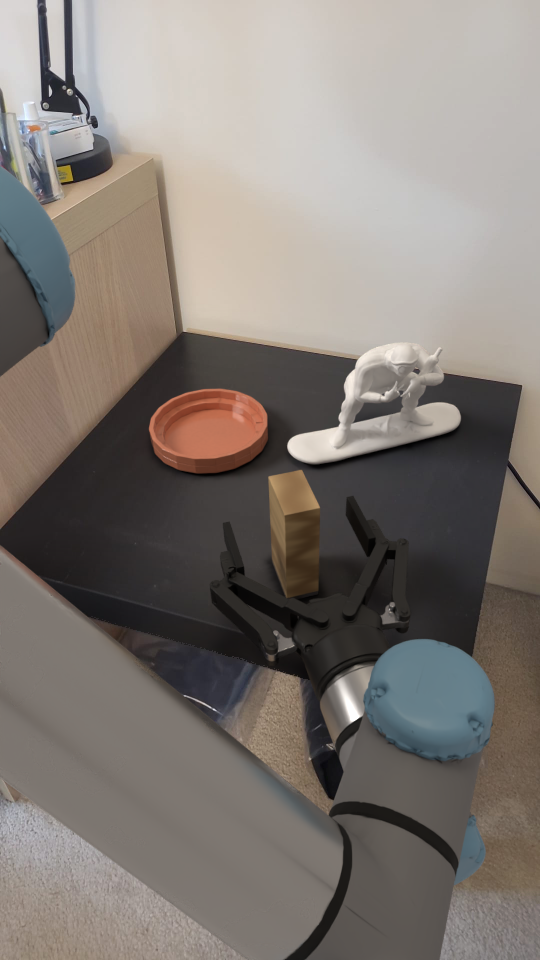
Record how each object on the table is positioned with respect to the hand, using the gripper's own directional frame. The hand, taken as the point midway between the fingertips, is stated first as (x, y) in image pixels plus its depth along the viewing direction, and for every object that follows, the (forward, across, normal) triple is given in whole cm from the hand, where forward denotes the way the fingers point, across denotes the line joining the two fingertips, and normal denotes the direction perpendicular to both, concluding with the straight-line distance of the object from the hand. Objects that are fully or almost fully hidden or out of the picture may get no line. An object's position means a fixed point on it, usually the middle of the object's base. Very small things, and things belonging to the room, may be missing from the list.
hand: (289, 517), depth 73 cm
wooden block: (-2, 0, -7) cm, 8 cm away
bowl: (+26, -4, -7) cm, 27 cm away
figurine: (+19, +18, -8) cm, 27 cm away
